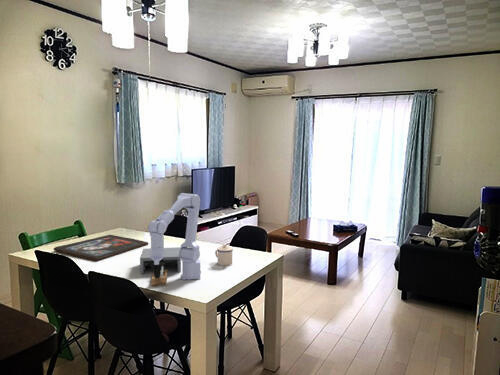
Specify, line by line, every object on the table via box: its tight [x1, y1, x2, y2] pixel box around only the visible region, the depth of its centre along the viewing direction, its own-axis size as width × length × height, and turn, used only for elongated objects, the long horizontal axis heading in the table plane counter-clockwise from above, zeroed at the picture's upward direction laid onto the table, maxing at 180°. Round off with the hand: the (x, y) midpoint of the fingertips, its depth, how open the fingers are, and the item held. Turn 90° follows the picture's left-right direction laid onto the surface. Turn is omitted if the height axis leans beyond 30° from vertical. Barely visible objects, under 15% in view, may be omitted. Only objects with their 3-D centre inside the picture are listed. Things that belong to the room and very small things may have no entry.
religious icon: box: [53, 234, 149, 262], centre depth 241 cm, size 40×45×3 cm
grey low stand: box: [139, 246, 182, 275], centre depth 204 cm, size 21×18×9 cm
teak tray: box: [150, 265, 168, 287], centre depth 186 cm, size 7×16×6 cm, turn 11°
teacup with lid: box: [214, 243, 233, 267], centre depth 214 cm, size 12×9×12 cm
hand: (157, 274), depth 170 cm, fingers open, 7 cm apart
